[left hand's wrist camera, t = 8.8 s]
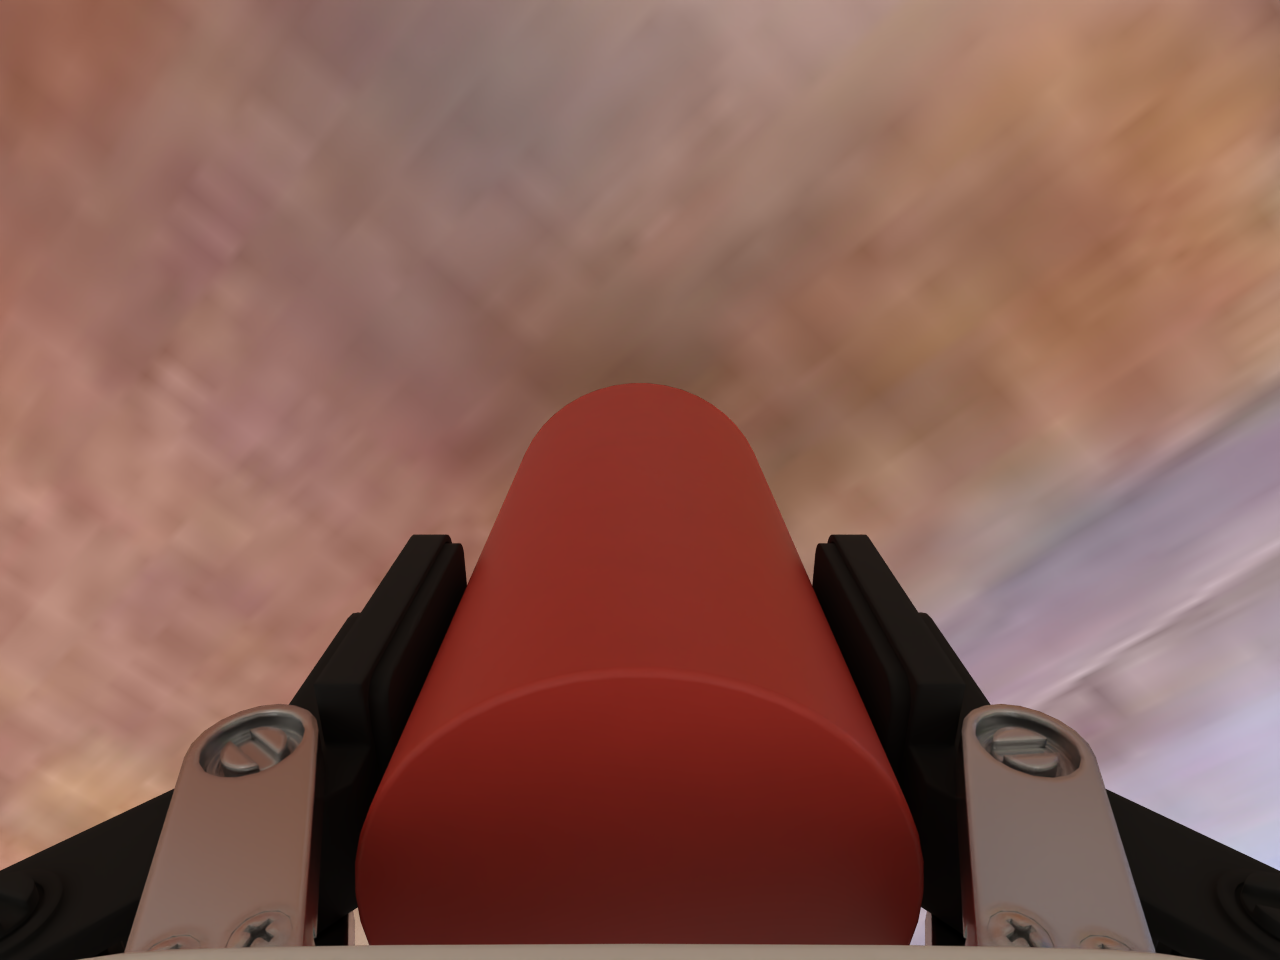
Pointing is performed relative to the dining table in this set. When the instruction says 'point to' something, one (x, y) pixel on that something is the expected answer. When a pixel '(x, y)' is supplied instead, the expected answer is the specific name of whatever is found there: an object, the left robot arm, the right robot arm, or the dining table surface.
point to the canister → (639, 718)
